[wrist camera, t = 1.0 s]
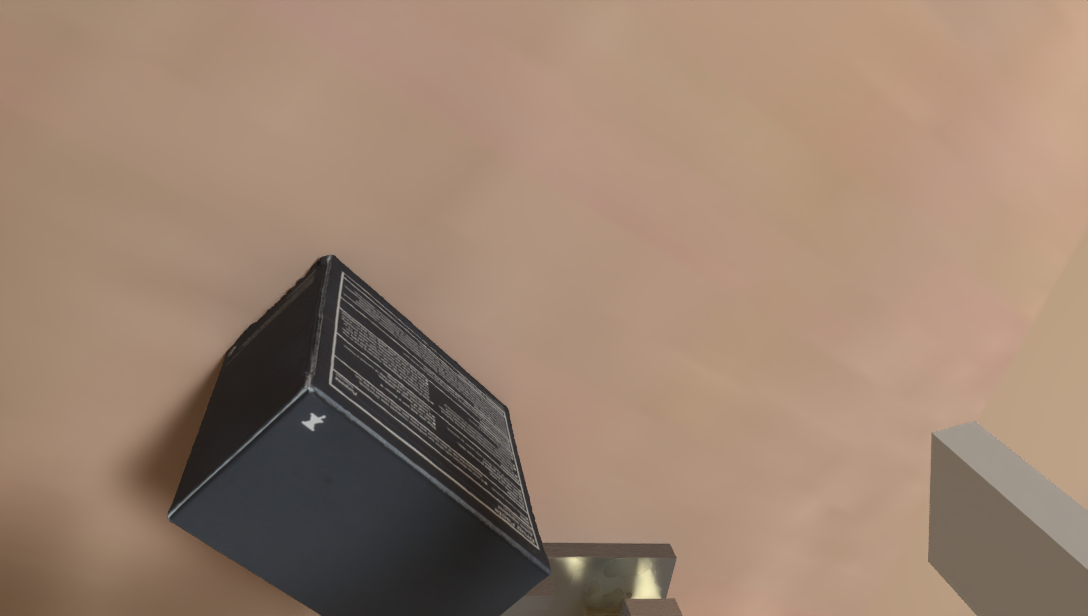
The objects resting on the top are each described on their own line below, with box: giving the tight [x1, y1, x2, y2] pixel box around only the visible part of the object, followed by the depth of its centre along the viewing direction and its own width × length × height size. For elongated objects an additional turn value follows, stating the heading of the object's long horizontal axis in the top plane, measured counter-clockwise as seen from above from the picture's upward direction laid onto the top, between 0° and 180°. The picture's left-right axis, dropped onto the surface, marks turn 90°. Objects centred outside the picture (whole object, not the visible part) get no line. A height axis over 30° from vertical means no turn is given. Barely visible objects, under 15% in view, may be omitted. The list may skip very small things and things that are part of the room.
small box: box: [167, 255, 551, 616], centre depth 30 cm, size 11×6×10 cm, turn 42°
